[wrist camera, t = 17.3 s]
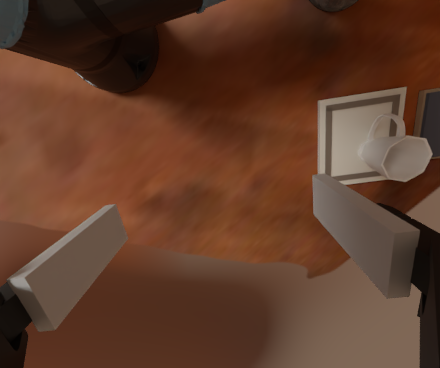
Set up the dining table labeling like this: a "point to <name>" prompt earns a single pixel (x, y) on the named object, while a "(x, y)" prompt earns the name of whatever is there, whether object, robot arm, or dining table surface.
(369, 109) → the board
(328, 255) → the dining table surface
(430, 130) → the ink pad
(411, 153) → the cup
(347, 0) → the lantern
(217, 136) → the dining table surface
